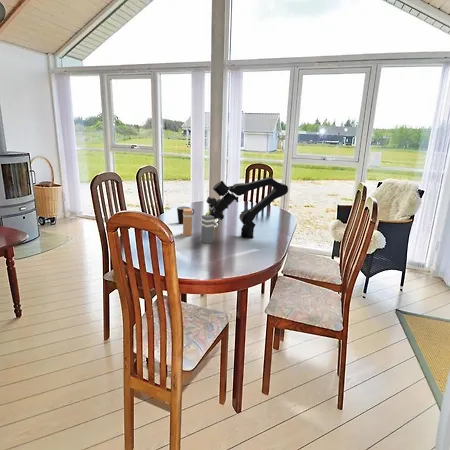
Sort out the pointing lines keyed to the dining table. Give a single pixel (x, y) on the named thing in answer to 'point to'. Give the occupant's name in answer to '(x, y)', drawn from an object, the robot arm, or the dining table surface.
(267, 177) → the robot arm
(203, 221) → the post two bands
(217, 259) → the dining table surface
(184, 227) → the post one band
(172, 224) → the dining table surface
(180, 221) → the coffee mug
